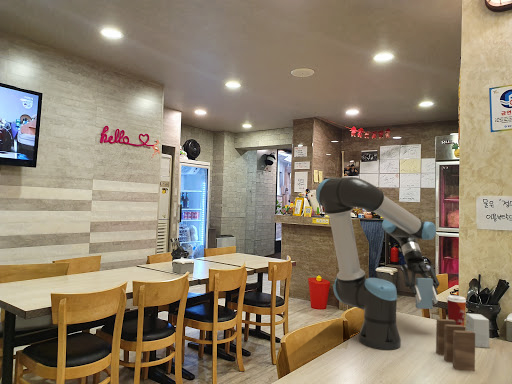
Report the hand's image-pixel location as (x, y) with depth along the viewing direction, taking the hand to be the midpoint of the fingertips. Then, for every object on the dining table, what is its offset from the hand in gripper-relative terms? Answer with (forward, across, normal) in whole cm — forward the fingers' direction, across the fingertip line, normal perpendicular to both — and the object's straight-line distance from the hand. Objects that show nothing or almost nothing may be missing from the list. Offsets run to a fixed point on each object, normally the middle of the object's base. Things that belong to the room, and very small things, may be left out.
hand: (427, 301), depth 148 cm
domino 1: (+21, 0, 0) cm, 21 cm away
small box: (+13, -18, -8) cm, 23 cm away
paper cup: (+2, -18, -20) cm, 27 cm away
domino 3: (+30, 0, +9) cm, 31 cm away
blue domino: (0, 0, -5) cm, 5 cm away
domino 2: (+25, 0, +5) cm, 26 cm away
